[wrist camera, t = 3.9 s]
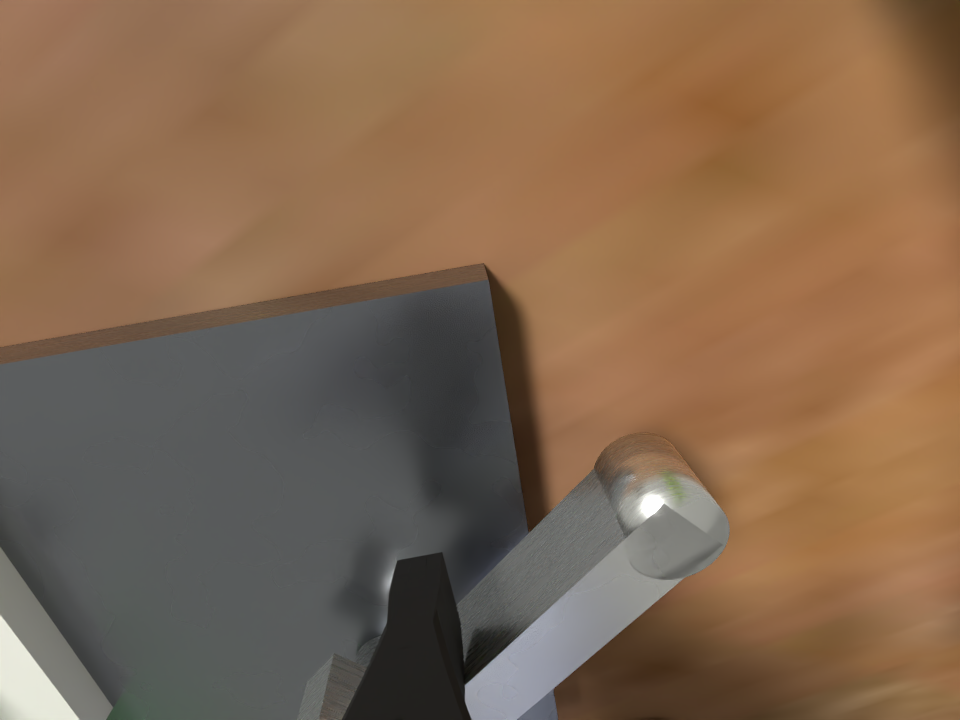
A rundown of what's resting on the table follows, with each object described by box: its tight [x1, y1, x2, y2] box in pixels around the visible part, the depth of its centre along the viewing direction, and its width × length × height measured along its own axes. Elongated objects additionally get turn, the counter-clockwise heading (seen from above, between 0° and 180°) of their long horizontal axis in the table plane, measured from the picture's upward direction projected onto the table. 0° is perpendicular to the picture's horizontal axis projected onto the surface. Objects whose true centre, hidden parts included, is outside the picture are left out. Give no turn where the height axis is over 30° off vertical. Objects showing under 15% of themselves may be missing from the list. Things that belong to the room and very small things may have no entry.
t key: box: [297, 433, 729, 720], centre depth 11 cm, size 11×4×3 cm, turn 141°
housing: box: [0, 263, 558, 720], centre depth 13 cm, size 14×21×2 cm, turn 99°
